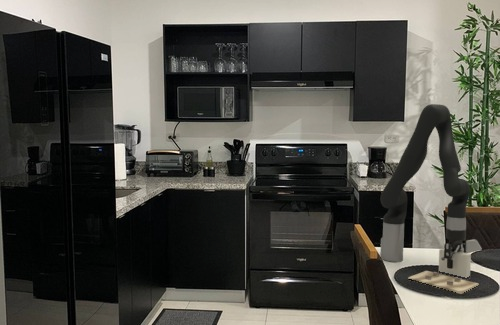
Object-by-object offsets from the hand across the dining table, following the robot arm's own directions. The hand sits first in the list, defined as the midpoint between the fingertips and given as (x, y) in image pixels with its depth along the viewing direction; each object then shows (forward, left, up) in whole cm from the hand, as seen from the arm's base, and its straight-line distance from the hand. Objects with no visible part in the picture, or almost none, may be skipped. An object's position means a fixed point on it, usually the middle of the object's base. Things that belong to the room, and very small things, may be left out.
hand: (454, 266), depth 207 cm
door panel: (0, 0, -4) cm, 4 cm away
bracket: (-15, +21, -2) cm, 26 cm away
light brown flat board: (+2, -13, -4) cm, 14 cm away
